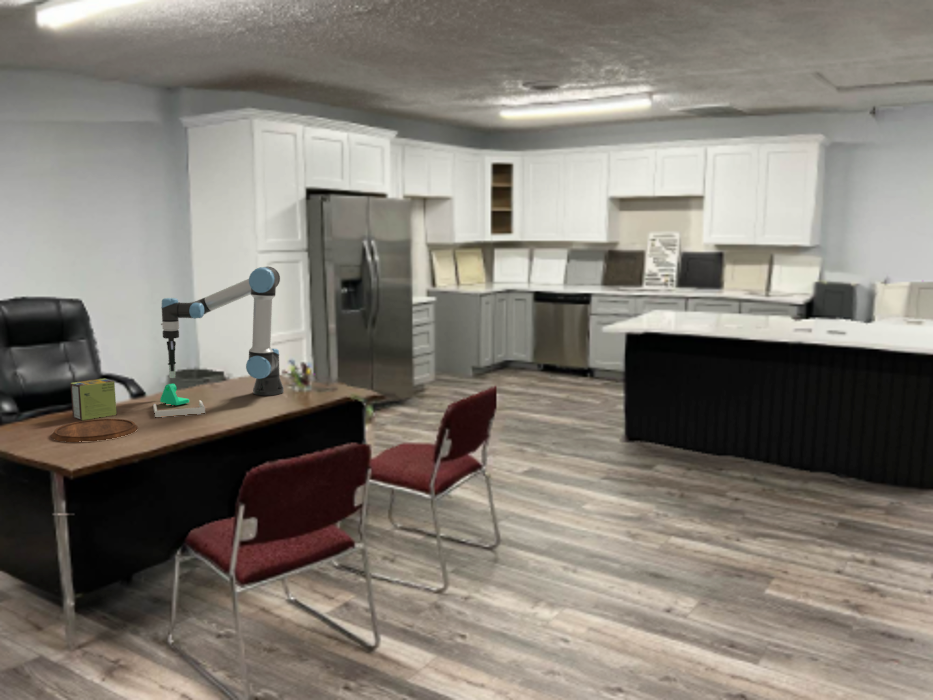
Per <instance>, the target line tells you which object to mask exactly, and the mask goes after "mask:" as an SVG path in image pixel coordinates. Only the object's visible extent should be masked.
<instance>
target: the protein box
mask: <svg viewBox="0 0 933 700" xmlns="http://www.w3.org/2000/svg"><path fill="white" fill-rule="evenodd" d="M115 385H116V383H115V380H111V379H108V378H98V379H89V380H84V381H77V382H76V381H75V382H70V385H69V386H70V395H71V397H70V398H71V408H72V412H71V413H72V418H74V419H77V420H80V421H86V420H95V419H100V418H99V417H101V418H107V417H111V416H112V415H113V416H116V414H117V401H116V386H115ZM106 416H107V417H106ZM94 418H95V419H94Z"/></svg>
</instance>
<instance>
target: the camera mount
mask: <svg viewBox="0 0 933 700" xmlns="http://www.w3.org/2000/svg"><path fill="white" fill-rule="evenodd" d="M177 390H178V388H177V385H176V384H175V383H167V384H165V385H164V389H163V390H162V394H161V396H160V399H159V400H160V401H159V402H160V403H162V404H165V403H166V404H171V405H175V406H180V405H184V404H189V403H190V399H189V398H184V397H179V396H178V394H177V393H176V392H177Z"/></svg>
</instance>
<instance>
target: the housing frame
mask: <svg viewBox="0 0 933 700" xmlns="http://www.w3.org/2000/svg"><path fill="white" fill-rule="evenodd" d="M198 403H199V404H198V405H199V406H200V407H199V406H198V407H187V408H175V409H165V410H164V409H163V410H158V407H157V404H156V403H153V407H152V408H153V412H154V413H155V414H154V418H155V417H161V416H173V415H185V416H188V415H187V414H197V415H202V414H201V413H205V414H206V406H205V405H204V403H203V401H202V400H200V399H199V400H198Z"/></svg>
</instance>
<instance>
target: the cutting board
mask: <svg viewBox="0 0 933 700" xmlns="http://www.w3.org/2000/svg"><path fill="white" fill-rule="evenodd" d="M137 429H139V427H138V425H137V424H135V422H133V421H132V420H129V419H123V418H95V419H88V420H80V421H75V422H70V423H67V424H66V423H65V424H64V425H61V426H59V427H57V428H56V429H54V431H53V433H51V439H52V438H53V439H55V440H54V441H56V440H58V441H57V442H60V441H66V442H65V443H67V442H79V441H81V442H82V441H97V440H106V439H112V438H117V437H121V436H125V435H128V434H131V433H133V432H135V431H136V430H137ZM137 431H138V430H137ZM137 431H136V432H137ZM136 432H135V433H136ZM133 434H134V433H133ZM131 435H132V434H131ZM128 436H129V435H128ZM125 437H126V436H125ZM121 438H122V437H121ZM53 439H52V440H53ZM117 439H118V438H117ZM112 440H113V439H112Z"/></svg>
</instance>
